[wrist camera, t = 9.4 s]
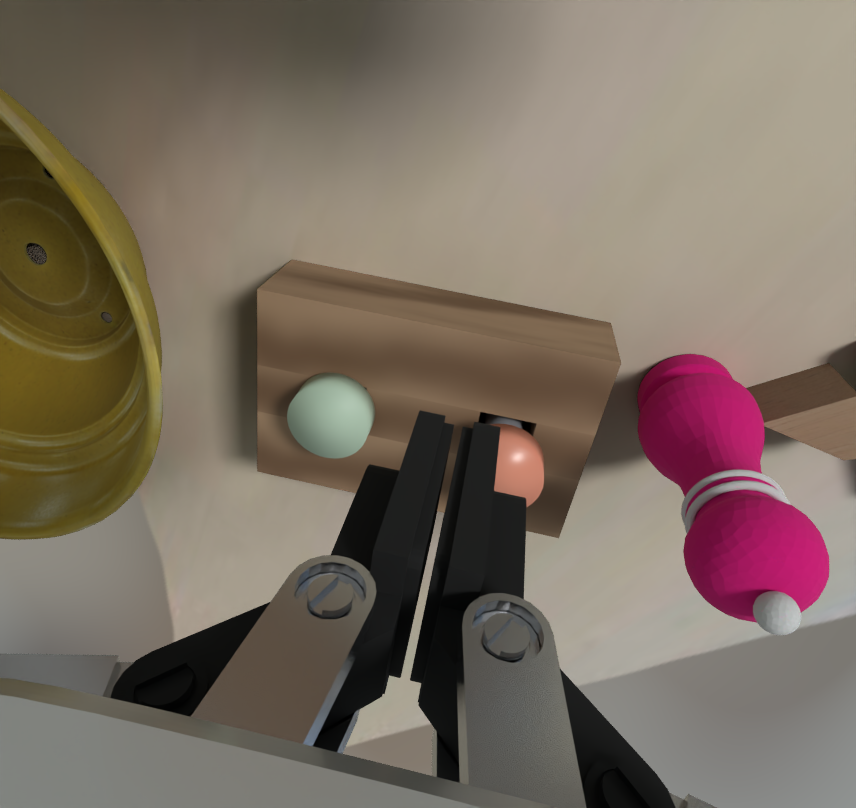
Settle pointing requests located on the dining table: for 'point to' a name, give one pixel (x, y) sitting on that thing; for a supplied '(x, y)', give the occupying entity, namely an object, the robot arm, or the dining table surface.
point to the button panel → (429, 374)
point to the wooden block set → (811, 409)
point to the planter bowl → (69, 341)
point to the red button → (517, 460)
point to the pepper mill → (729, 495)
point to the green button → (331, 415)
